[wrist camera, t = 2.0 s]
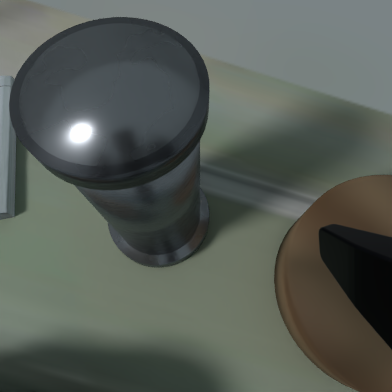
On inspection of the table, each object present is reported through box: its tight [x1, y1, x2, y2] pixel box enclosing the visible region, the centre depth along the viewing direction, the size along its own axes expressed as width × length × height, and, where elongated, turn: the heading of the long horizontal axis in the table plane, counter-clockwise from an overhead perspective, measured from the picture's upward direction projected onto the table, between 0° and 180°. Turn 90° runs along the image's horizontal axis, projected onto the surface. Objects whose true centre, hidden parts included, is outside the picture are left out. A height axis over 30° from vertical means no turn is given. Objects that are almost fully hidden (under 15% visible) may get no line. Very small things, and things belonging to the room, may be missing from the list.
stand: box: [274, 175, 392, 392], centre depth 18 cm, size 12×12×4 cm
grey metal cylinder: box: [9, 17, 209, 267], centre depth 16 cm, size 7×7×13 cm
